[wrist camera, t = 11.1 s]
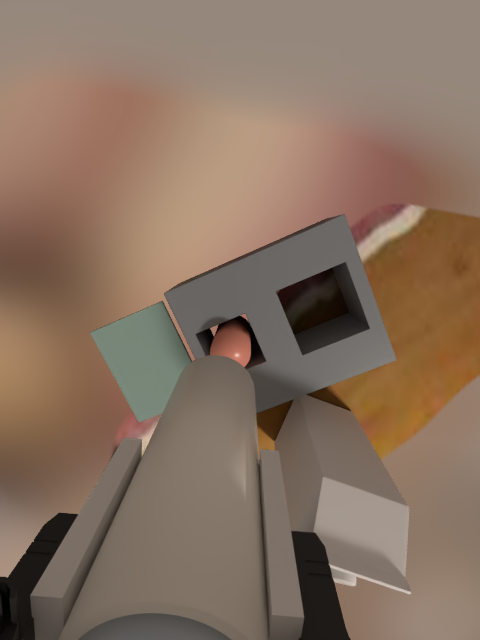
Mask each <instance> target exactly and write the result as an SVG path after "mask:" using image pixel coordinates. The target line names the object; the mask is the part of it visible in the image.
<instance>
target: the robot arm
mask: <svg viewBox="0 0 480 640" xmlns="http://www.w3.org/2000/svg"><path fill="white" fill-rule="evenodd" d="M141 454H142V439H130V438H123V440H122V442H121V443H120V445H119V447H118V448H117V450H116V452H115V453H114V455H113V457H112V458H111V460H110V462H109V463H108V465H107V467H106V469H105V470H104V472H103V474H102V475H101V477H100V479H99V480H98V482H97V484H96V485H95V487H94V489H93V491H92V492H91V494H90V495H89V497H88V499H87V501H86V502H85V504H84V506H83V507H82V509H81V511H80V512H79V514H68V513H58V514H57V515H56V516H55V517H54V518H52V519H51V520H50V521H48V522H47V523H46V524H45V525H44V526H43V527H42V529H41V530H40V532H39V533H38V535H37V536H36V538H35V539H34V542H32V543H31V545H30V546H29V548H28V549H27V551H26V553H25V554H24V555H23V556H22V558H21V559H20V561H19V562H18V564H17V565H16V567H15V568H14V569H13V571H12V572H11V574H10V575H9V577H8V578H7V577H0V640H58V639H59V637H60V635H61V632H62V630H63V628H64V626H65V624H66V622H67V619H68V617H69V615H70V613H71V611H72V609H73V606H74V604H75V602H76V600H77V598H78V596H79V593H80V591H81V589H82V587H83V585H84V583H85V580H86V578H87V576H88V574H89V572H90V569H91V567H92V565H93V563H94V561H95V559H96V556H97V554H98V552H99V550H100V548H101V546H102V543H103V541H104V539H105V537H106V535H107V533H108V530H109V528H110V526H111V524H112V522H113V520H114V517H115V515H116V513H117V511H118V509H119V506H120V504H121V502H122V500H123V498H124V496H125V493H126V491H127V489H128V487H129V485H130V483H131V480H132V478H133V476H134V474H135V472H136V470H137V467H138V465H139V463H140V461H141ZM259 475H260V492H261V509H262V527H263V544H264V561H265V578H266V596H267V613H268V630H269V640H350V638H349V636H348V633H347V630H346V628H345V624H344V620H343V616H342V612H341V608H340V604H339V600H338V596H337V592H336V588H335V584H334V580H333V578H332V572H331V568H330V565H329V560H328V556H327V552H326V549H325V546H324V544H323V543H322V541H321V540H320V539H319V537H318V536H317V534H316V533H313V532H301V531H291V528H290V521H289V514H288V508H287V501H286V495H285V488H284V482H283V475H282V469H281V462H280V456H279V451H274V450H262V449H261V451H260V460H259Z"/></svg>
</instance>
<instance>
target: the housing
mask: <svg viewBox="0 0 480 640" xmlns="http://www.w3.org/2000/svg"><path fill="white" fill-rule="evenodd" d="M330 268H332V269H333V271H334V274H335V277H336V279H337V282H338V285H339V288H340V290H341V293H342V296H343V298H344V301H345V304H346V306H347V309H348V312H349V313H346V314H344V315H342V316H339V317H337V318H334V319H332V320H329V321H327V322H324V323H322V324H319V325H317V326H314V327H312V328H309V329H307V330H304V331H302V332H299V333H297V334H295V335H294V334H293V332H292V329H291V327H290V324H289V322H288V320H287V317H286V315H285V312H284V310H283V308H282V305H281V303H280V300H279V298H278V295H277V293H276V291H278V290H280V289H282V288H285V287H287V286H289V285H292V284H294V283H297V282H299V281H301V280H304V279H306V278H308V277H311V276H313V275H316V274H318V273H320V272H323V271H325V270H327V269H330ZM164 295H165V297H166V299H167V301H168V304H169V306H170V308H171V310H172V312H173V314H174V316H175V318H176V320H177V322H178V324H179V326H180V328H181V330H182V332H183V334H184V336H185V338H186V340H187V343H188V345H189V347H190V349H191V351H192V353H193V355H194V357H195V359H198V358H201V357H204V356H210V348H211V345H212V342H213V339H214V336H213V334H212V332H211V330H210V328H211V327H213V326H216V325H218V324H220V323H223V322H225V321H228V320H230V319H232V318H235V317H237V316H240V315H242V314H244V313H246V315H247V318H248V320H249V322H250V325H251V327H252V329H253V332H254V334H255V336H256V338H257V341H258V343H255V344H253V345H251V356H250V360H249V362H248V363H247V365H246V366H245V367H244V368H245V369H246V370H247V371H248V372H249V374H250V376H251V378H252V380H253V383H254V388H255V402H256V413H259V412H262V411H264V410H267V409H270V408H272V407H275V406H277V405H280V404H283V403H285V402H288V401H291V400H293V399H296V398H298V397H301V396H304V395H306V394H309V393H311V392H314V391H317V390H319V389H322V388H325V387H327V386H330V385H332V384H335V383H338V382H340V381H343V380H346V379H348V378H351V377H353V376H356V375H359V374H361V373H364V372H366V371H369V370H372V369H374V368H377V367H380V366H382V365H385V364H387V363H390V362H393V361H395V360H396V357H395V354H394V351H393V349H392V346H391V343H390V340H389V337H388V335H387V332H386V329H385V326H384V323H383V320H382V318H381V315H380V312H379V309H378V306H377V304H376V301H375V298H374V295H373V292H372V289H371V287H370V284H369V281H368V278H367V275H366V273H365V270H364V267H363V264H362V261H361V259H360V256H359V253H358V250H357V247H356V244H355V242H354V239H353V236H352V233H351V230H350V228H349V225H348V222H347V219H346V216H345V214H343V215H339V216H335V217H331V218H327V219H325V220H322V221H320V222H318V223H315V224H313V225H311V226H309V227H306V228H304V229H302V230H299V231H297V232H295V233H293V234H290V235H288V236H286V237H284V238H281V239H279V240H277V241H274V242H272V243H270V244H268V245H266V246H263V247H261V248H259V249H256V250H254V251H252V252H250V253H247V254H245V255H243V256H241V257H238V258H236V259H234V260H231V261H229V262H227V263H225V264H222V265H220V266H218V267H215V268H213V269H211V270H209V271H207V272H204V273H202V274H200V275H197V276H195V277H193V278H190V279H188V280H186V281H184V282H181V283H179V284H178V285H176V286H175V287H173V288H171V289H170V290H169V291H167V292H165V293H164Z"/></svg>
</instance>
